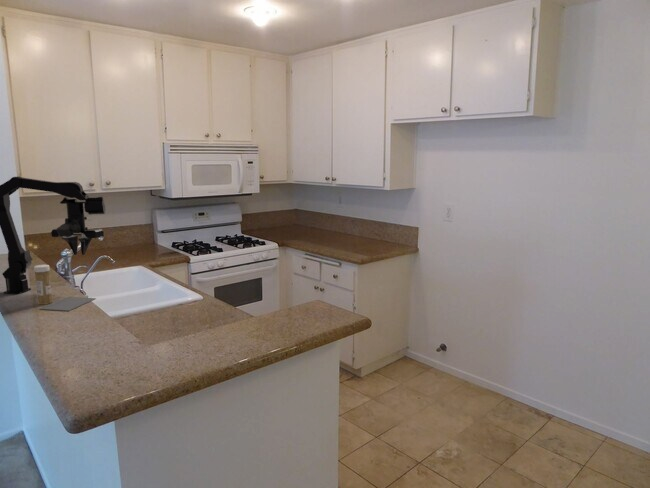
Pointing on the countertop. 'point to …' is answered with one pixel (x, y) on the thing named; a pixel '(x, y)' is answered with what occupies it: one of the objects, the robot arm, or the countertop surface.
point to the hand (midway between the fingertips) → (79, 254)
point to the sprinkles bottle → (43, 284)
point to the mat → (67, 304)
